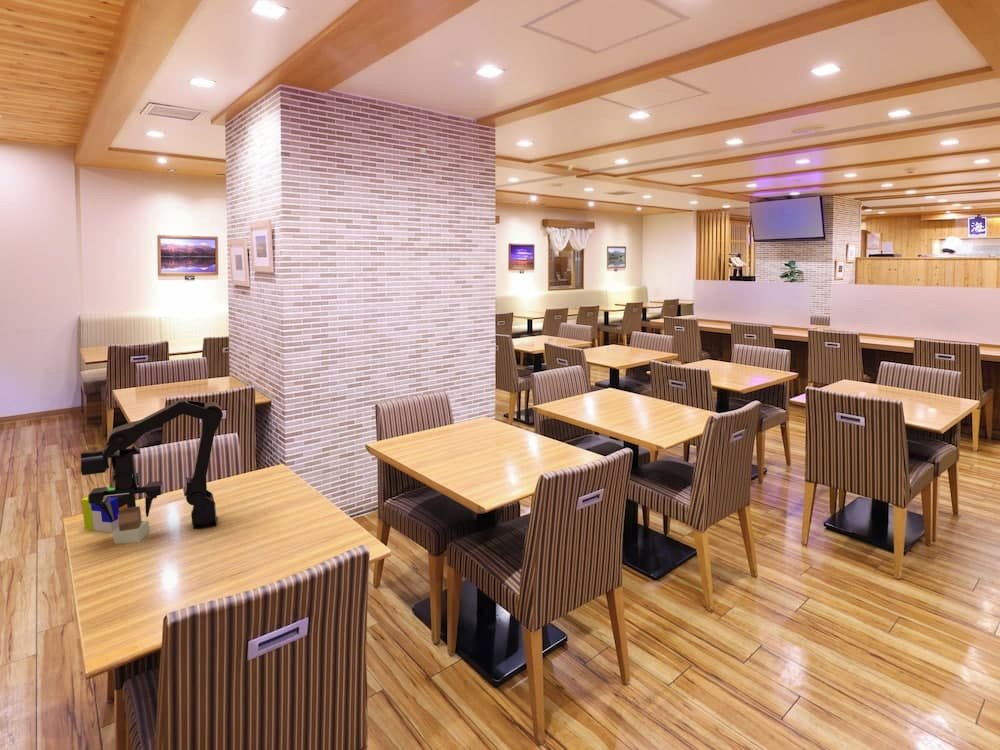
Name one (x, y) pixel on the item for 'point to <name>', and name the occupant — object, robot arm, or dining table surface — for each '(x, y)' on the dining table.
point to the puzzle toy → (99, 519)
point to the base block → (131, 534)
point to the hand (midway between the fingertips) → (130, 518)
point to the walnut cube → (129, 518)
